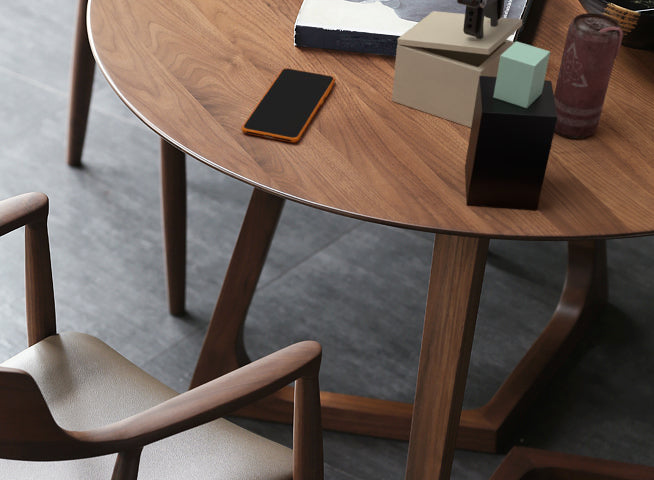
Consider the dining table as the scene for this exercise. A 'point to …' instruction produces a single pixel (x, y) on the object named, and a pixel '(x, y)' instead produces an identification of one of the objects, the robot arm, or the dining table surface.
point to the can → (585, 73)
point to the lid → (460, 32)
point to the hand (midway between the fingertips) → (482, 25)
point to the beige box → (442, 80)
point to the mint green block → (521, 74)
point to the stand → (508, 149)
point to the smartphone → (289, 105)
